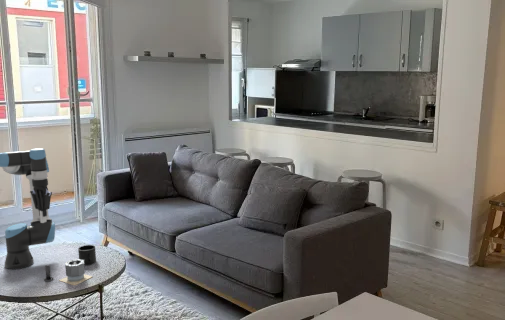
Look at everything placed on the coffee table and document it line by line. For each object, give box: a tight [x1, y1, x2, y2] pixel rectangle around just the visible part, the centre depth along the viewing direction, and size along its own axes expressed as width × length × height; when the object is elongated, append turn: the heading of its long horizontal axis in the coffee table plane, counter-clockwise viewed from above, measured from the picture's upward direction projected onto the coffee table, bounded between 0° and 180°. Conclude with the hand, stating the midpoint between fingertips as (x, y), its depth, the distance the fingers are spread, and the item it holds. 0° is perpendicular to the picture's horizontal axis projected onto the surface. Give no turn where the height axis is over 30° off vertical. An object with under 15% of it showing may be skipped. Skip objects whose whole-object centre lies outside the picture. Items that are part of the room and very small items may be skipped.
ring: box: [64, 258, 86, 277], centre depth 260 cm, size 9×9×6 cm
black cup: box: [77, 244, 97, 266], centre depth 282 cm, size 9×12×9 cm
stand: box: [43, 264, 54, 283], centre depth 259 cm, size 5×5×8 cm
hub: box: [58, 262, 93, 286], centre depth 260 cm, size 12×12×9 cm
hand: (43, 222), depth 254 cm, fingers closed
